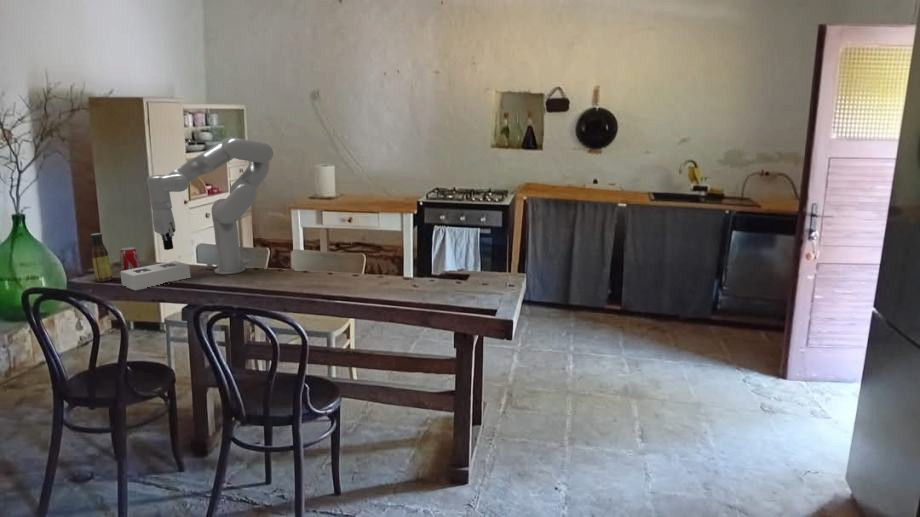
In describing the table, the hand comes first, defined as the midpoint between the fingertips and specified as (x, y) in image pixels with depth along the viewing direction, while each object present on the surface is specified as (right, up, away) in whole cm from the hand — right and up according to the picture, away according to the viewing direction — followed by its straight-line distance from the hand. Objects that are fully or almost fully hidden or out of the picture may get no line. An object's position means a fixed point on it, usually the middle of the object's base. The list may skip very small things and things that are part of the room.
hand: (168, 249), depth 276 cm
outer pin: (-8, -15, -6) cm, 17 cm away
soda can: (-20, -11, +10) cm, 25 cm away
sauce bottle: (-28, -13, +3) cm, 31 cm away
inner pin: (-1, -13, +2) cm, 13 cm away
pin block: (-4, -14, -2) cm, 14 cm away
